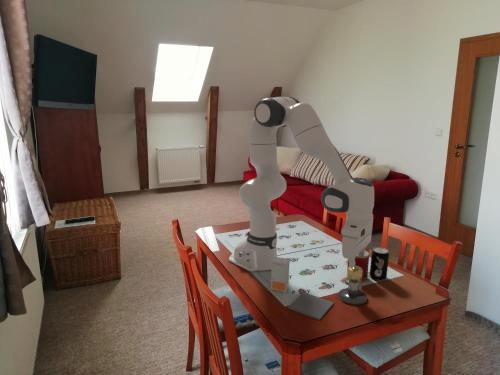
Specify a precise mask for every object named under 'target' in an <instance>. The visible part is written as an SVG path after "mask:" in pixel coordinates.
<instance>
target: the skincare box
mask: <svg viewBox="0 0 500 375" xmlns="http://www.w3.org/2000/svg"><path fill="white" fill-rule="evenodd" d="M290 263H291V262H290V259H289V258H284V257H278V256H277V257H274V259H273V260H272V269H271V270H270V271H271V272H270V273H271V274H270V275H271V276H270V278H271V279H270V290H272V291H277V292H283V293H286V292H287V290H288V288H289V280H290Z"/></svg>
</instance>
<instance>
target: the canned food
mask: <svg viewBox="0 0 500 375" xmlns="http://www.w3.org/2000/svg"><path fill="white" fill-rule="evenodd" d="M369 262H370V252H369V251H367V250H366V249H365V253H364V257H363V258H361V257H358V255H357V256H356V257H355V266H358V267H361V268H362V270H363V271H362V281H361V282H364V281H367V279H368V275H369V274H368V273H369V272H368V271H369V265H370V263H369ZM348 267H349V260H348V259H347V269H348ZM347 269H346V270H347Z"/></svg>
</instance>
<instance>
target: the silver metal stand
mask: <svg viewBox="0 0 500 375" xmlns="http://www.w3.org/2000/svg"><path fill="white" fill-rule="evenodd" d="M345 285H347V287H346V288H345V287H344V288H342V289H340V290H339V292H338V299H340V301H342V302H343V303H346V304H348V305H351V306H361V305H365V303H366V302H367V301H368V295H367V294H366V293H365V292H364V291H362V289H363V285H360V282H358V283H355V282H350V281H348V280H347V281H345Z"/></svg>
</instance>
